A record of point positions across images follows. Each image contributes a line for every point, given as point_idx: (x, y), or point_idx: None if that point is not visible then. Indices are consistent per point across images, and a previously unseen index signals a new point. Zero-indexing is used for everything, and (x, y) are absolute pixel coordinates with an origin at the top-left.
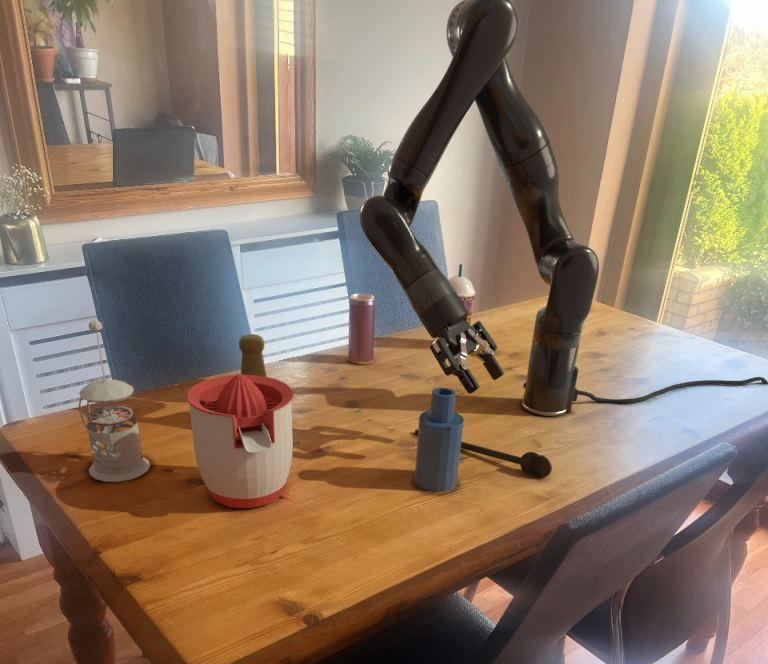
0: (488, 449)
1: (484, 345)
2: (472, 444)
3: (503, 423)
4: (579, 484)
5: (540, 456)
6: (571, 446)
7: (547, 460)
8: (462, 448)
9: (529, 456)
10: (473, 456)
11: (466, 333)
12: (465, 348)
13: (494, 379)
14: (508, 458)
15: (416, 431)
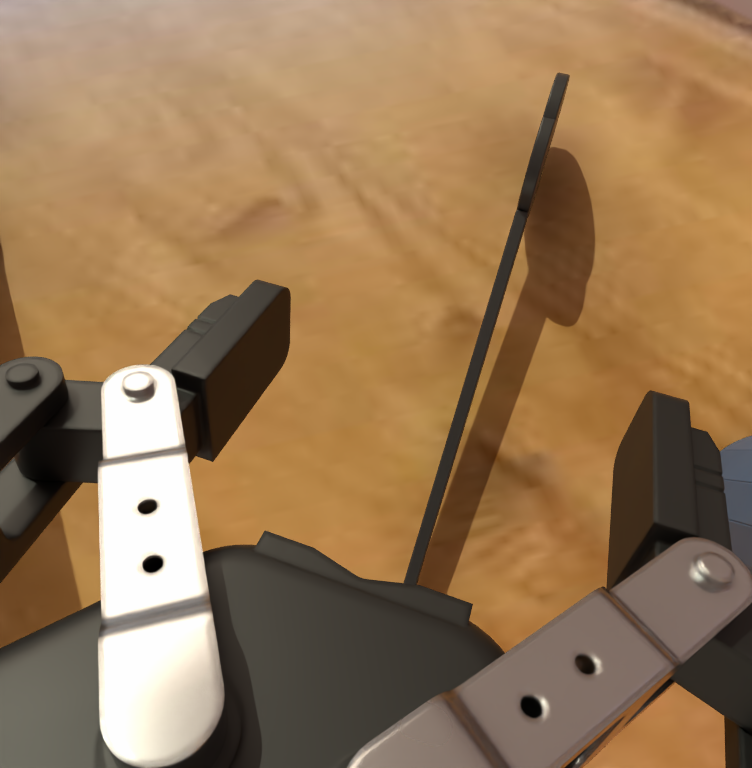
0: (480, 360)
1: (177, 457)
2: (449, 439)
3: None
4: (523, 10)
5: (558, 108)
6: (221, 96)
7: (567, 80)
8: (447, 482)
9: (542, 164)
10: None
11: (207, 757)
12: (547, 650)
13: (285, 352)
14: (512, 267)
15: None
